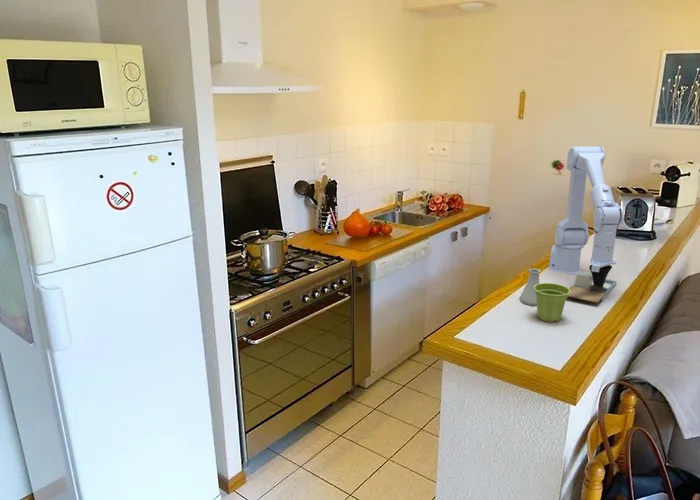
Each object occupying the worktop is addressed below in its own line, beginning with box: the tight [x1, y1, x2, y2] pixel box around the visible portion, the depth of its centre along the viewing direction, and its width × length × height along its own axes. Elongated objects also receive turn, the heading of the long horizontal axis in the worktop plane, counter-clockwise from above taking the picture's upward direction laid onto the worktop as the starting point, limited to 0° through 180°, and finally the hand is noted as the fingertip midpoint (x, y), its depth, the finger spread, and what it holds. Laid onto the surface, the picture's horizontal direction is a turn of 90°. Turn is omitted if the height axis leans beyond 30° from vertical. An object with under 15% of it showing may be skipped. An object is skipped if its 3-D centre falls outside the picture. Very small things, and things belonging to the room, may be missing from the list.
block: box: [575, 270, 593, 289], centre depth 166 cm, size 4×4×6 cm
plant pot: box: [534, 282, 570, 323], centre depth 147 cm, size 9×9×9 cm
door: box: [567, 285, 606, 304], centre depth 160 cm, size 10×9×2 cm
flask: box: [518, 268, 542, 307], centre depth 158 cm, size 7×7×10 cm
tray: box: [572, 278, 617, 303], centre depth 168 cm, size 10×19×2 cm, turn 142°
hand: (598, 288), depth 163 cm, fingers closed
